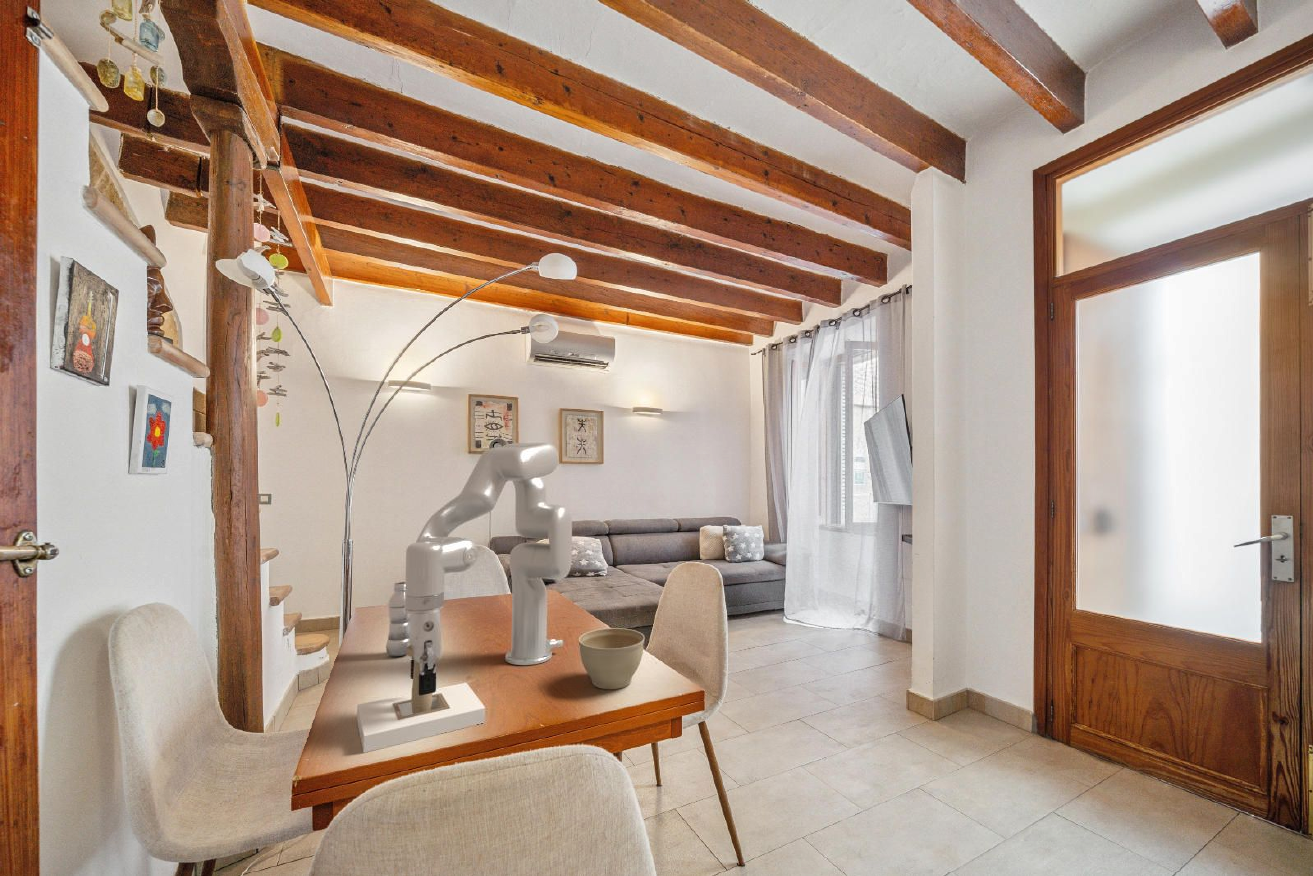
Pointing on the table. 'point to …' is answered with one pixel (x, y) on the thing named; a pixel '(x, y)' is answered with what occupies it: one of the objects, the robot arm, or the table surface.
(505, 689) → the table surface
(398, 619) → the plastic bottle
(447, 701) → the socket board
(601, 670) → the planter bowl
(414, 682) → the handle
